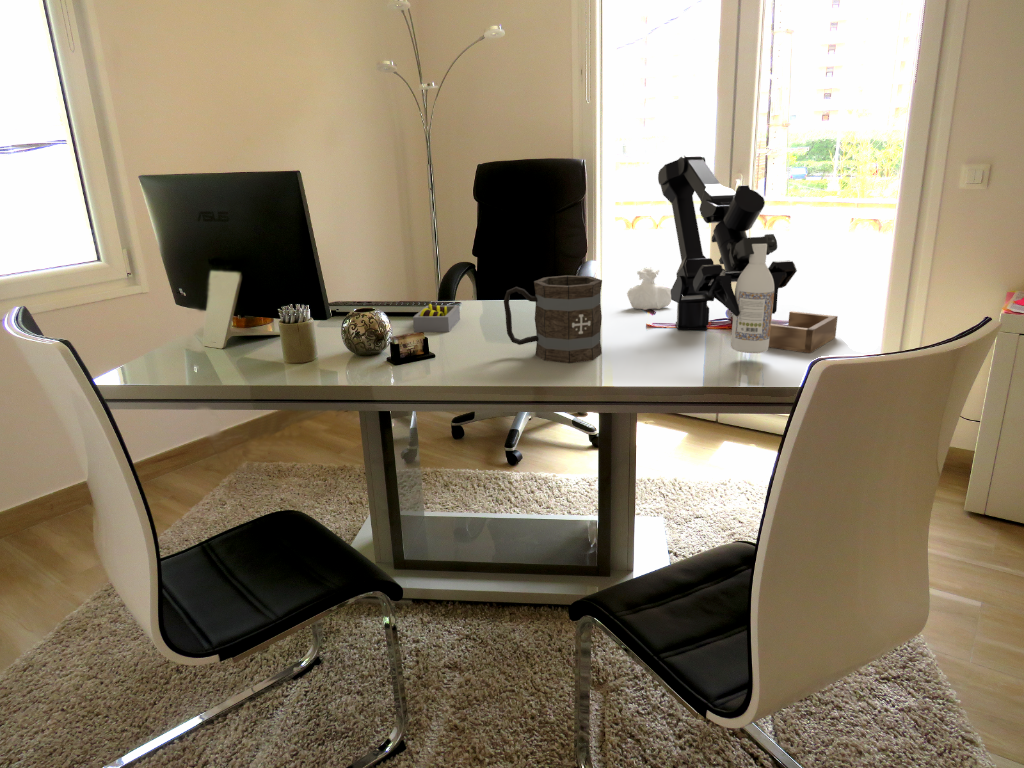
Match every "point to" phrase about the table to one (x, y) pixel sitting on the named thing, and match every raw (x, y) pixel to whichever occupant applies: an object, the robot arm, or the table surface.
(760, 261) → the bath foam
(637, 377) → the table surface
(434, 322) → the valet tray
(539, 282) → the mug
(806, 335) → the u rest
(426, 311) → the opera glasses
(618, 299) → the table surface
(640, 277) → the white tied sack
